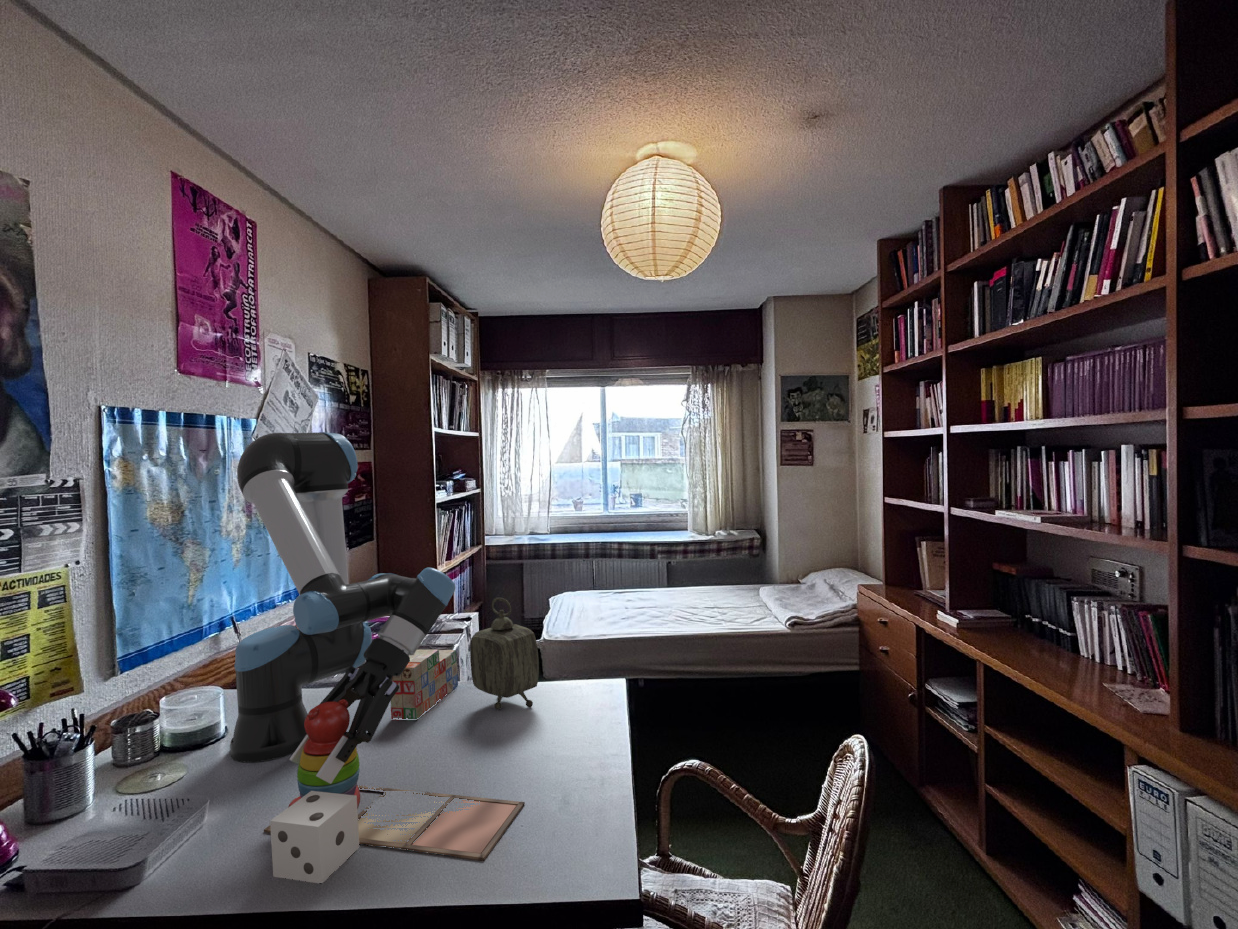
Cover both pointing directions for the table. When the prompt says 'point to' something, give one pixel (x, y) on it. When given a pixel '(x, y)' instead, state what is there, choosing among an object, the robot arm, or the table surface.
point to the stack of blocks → (424, 682)
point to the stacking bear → (326, 751)
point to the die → (314, 836)
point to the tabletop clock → (504, 658)
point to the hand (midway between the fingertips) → (309, 771)
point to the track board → (445, 827)
